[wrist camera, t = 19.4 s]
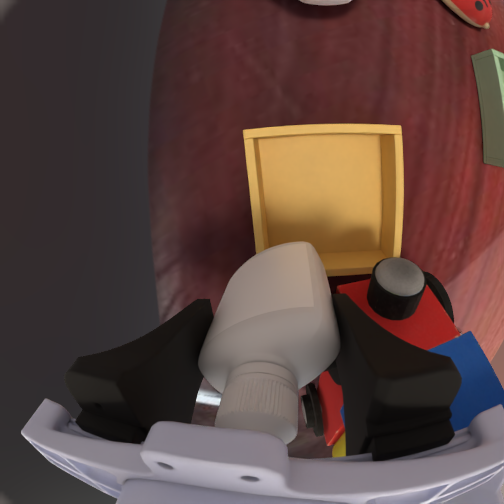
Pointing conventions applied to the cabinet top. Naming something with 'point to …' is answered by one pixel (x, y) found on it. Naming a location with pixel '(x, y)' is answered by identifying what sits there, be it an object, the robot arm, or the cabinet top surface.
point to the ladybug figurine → (472, 11)
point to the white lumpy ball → (325, 2)
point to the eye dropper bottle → (270, 339)
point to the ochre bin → (328, 191)
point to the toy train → (414, 332)
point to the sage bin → (491, 103)
